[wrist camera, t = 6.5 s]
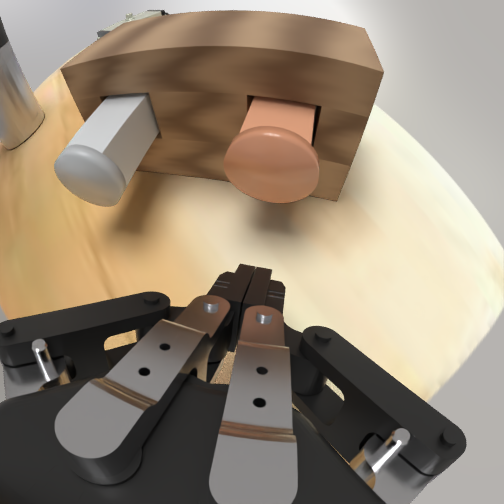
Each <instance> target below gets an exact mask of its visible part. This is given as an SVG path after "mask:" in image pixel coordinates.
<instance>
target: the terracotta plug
mask: <svg viewBox="0 0 504 504" xmlns="http://www.w3.org/2000/svg"><path fill="white" fill-rule="evenodd" d="M314 112H315V105H313V104H308V103H303V102H297V101H291V100H284V99H277V98H270V97H262V96H255V97H254V99H253V101H252V104H251V106H250V108H249V111H248V113H247V116H246V118H245V120H244V123H243V125H242V128H241V130H240V133H239V134H238V135H237V136H235V138H234V139H233V140H232V141H231V143H230V145H229V148H228V150H227V153H226V155H225V158H224V162H223V164H224V171H225V174H226V176H227V177H228V179H229V180H230V182H231V183H232V184H233V185H234V186H235V187H236V188H237V189H239V190H240V191H242V192H243V193H245V194H247V195H249V196H251V197H253V198H256V199H259V200H262V201H267V202H273V203H289V202H294V201H298V200H301V199H303V198H305V197H307V196H308V195H310V194H311V193H312V192H313V191H314V190H315V188H316V186H317V184H318V179H319V169H320V162H319V157H318V155H317V152H316V151H315V149H314V148H313V146H312V145H311V141H312V131H313V122H314Z"/></svg>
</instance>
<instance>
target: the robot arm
mask: <svg viewBox="0 0 504 504" xmlns="http://www.w3.org/2000/svg"><path fill="white" fill-rule="evenodd" d="M43 119H44V113H43V111H42V109H41V107H40V105H39V103H38V102H37V100H36V98H35V96H34V94H33V92H32V90H31V88H30V86H29V84H28V82H27V80H26V78H25V76H24V74H23V72H22V70H21V67H20V65H19V63H18V61H17V58H16V56H15V54H14V52H13V50H12V47H11V45H10V42H9V40H8V37H7V35H6V32H5V30H4V27H3V23H2V21H1V18H0V141H1V142H2V143H3V145H4V146H5V148H6V149H8V150H10V149H13V148H15V147H17V146H18V145H20V144H21V143H22V142H24V141H25V140H26V139H27V138H28V137H29V136H30V135H31V134H32V133H33V132H34V131H35V130H36V129H37V128H38V127H39V125H40V124H41V122H42V121H43ZM271 274H272V270H271V269H266V268H261V267H255V266H250V265H244V264H240V265H239V267H238V268H237V270H236V272H235V273H232V272H225V273H223V274H221V275H219V277H218V278H217V280H216V281H215V283H214V285H213V286H212V288H211V289H210V291H209V292H208V294H207V295H203V296H199V297H196V298H195V299H194V300H193V301H192V302H191V303H190V304H189V305H188V306H187V307H173V306H170V299H169V297H168V296H166V295H165V294H162V293H159V292H143V293H138V294H134V295H129V296H125V297H120V298H115V299H111V300H106V301H101V302H96V303H92V304H87V305H82V306H77V307H72V308H68V309H63V310H58V311H53V312H48V313H43V314H38V315H33V316H28V317H23V318H17V319H12V320H7V321H4V322H2V323H0V362H1V364H2V366H3V370H4V371H3V372H4V384H5V396H6V400H5V401H3V402H1V403H0V504H410V503H411V502H412V501H413V500H414V499H415V498H416V497H417V495H418V494H419V493H420V492H421V491H422V490H423V489H424V487H425V486H426V485H427V484H428V483H430V482H431V481H432V480H434V479H435V478H436V477H437V476H438V475H440V474H441V473H442V472H443V471H444V470H445V469H447V468H448V467H449V466H450V465H451V464H452V463H454V462H455V461H456V460H457V459H458V458H459V457H460V456H461V455H462V454H463V453H464V451H465V449H466V438H465V435H464V433H463V432H462V430H461V429H460V428H459V427H458V426H456V425H455V424H454V423H452V422H451V421H450V420H448V419H447V418H446V417H445V416H443V415H442V414H441V413H439V412H438V411H437V410H435V409H434V408H433V407H431V406H430V405H429V404H428V403H426V402H425V401H424V400H422V399H421V398H420V397H418V396H417V395H416V394H415V393H413V392H412V391H411V390H409V389H408V388H407V387H405V386H404V385H403V384H402V383H400V382H399V381H398V380H396V379H395V378H394V377H393V376H391V375H390V374H389V373H387V372H386V371H385V370H384V369H382V368H381V367H380V366H378V365H377V364H376V363H375V362H373V361H372V360H371V359H370V358H368V357H367V356H366V355H364V354H363V353H362V352H361V351H359V350H358V349H357V348H356V347H354V346H353V345H352V344H350V343H349V342H348V341H347V340H345V339H344V338H343V337H342V336H340V335H339V334H338V333H337V332H335V331H333V330H332V329H329V328H326V327H322V326H311V327H308V328H306V329H305V330H304V331H303V333H301V332H299V331H296V330H294V329H292V328H290V327H289V326H287V325H286V324H285V322H284V317H283V306H284V297H285V286H284V285H283V283H282V282H280V281H275V280H270V279H271ZM132 330H136V338H137V342H135V343H132V344H128V345H125V346H121V347H117V348H114V349H110V350H106V351H105V350H104V342H105V340H106V339H107V338H108V337H110V336H113V335H117V334H121V333H125V332H129V331H132ZM236 345H237V348H236ZM235 348H236V355H235V360H234V365H233V370H232V375H231V379H230V384H214V382H215V380H216V378H217V376H218V374H219V372H220V370H221V368H222V366H223V364H224V357H225V356H226V354H227V351H231V352H234V351H235ZM327 379H329V380H330V381H331V382H332V383H333V384H334V385H336V386H337V387H338V388H339V389H340V390H341V391H342V393H343V395H344V401H343V400H342V399H341V398H340V397H339V396H338V395H337V394H336V393H335V392H334V391H333V390H332V389H331V388H330V387H329V386H328V385H326V381H327ZM292 403H293V404H294V405H295V406H296V407H297V408H298V409H299V411H300V412H301V413H300V412H299V411H298V410H296V409H294V408H293V407H292ZM330 444H331V445H332V446H333V447H334V448H335V449H336V450H337V451H338V452H339V453H340V455H341V456H342V457H343V458H344V459H345V460H346V461H347V462H348V463H349V464H350V465H349V464H348V463H347V462H346V461H345V460H344V459H343V458H342V457H341V456H340V455H339V454H338V452H337V451H336V450H335V449H334V448H333V447H332V446H331V445H330Z"/></svg>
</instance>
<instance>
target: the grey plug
mask: <svg viewBox="0 0 504 504" xmlns="http://www.w3.org/2000/svg"><path fill="white" fill-rule="evenodd" d="M159 132H160V129H159V126H158V123H157V119H156V116H155V113H154V109H153V106H152V103H151V99H150V96H149V92H147V93H131V94H119V95H109V96H108V97H107V98H106V99H105V100H104V101H103V102H102V103H101V104H100V106H99V107H98V108H97V109H96V110H95V111H94V112H93V114H92V115H91V116H90V117H89V118H88V119H87V121H86V122H85V123H84V124H83V126H82V127H81V128H80V129H79V131H78V132H77V133H76V134H75V136H74V137H73V138H72V140H71V141H70V142H69V144H68V145H67V146H66V148H65V149H64V150H63V151H62V153H61V154H60V156H59V157H58V158H57V160H56V161H55V164H54V169H55V173H56V175H57V177H58V179H59V180H60V181H61V183H62V184H63V185H64V186H65V187H66V188H67V189H68V190H69V191H71V192H72V193H73V194H75V195H76V196H78V197H79V198H81V199H83V200H85V201H87V202H89V203H92V204H95V205H98V206H105V207H109V206H114V205H116V204H117V203H118V202H119V200H120V198H121V196H122V194H123V192H124V191H125V189H126V187H127V185H128V183H129V182H130V180H131V178H132V176H133V174H134V173H135V171H136V169H137V167H138V166H139V164H140V162H141V160H142V159H143V157H144V155H145V154H146V152H147V151H148V149H149V147H150V146H151V144H152V142H153V141H154V139H155V138H156V136H157V135H158V133H159Z"/></svg>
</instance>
